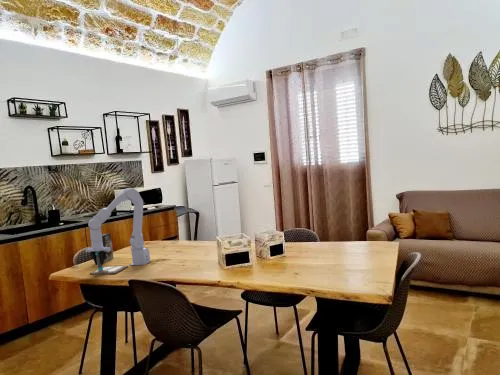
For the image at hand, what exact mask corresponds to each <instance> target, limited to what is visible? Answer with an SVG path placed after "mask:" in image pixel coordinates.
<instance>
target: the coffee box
mask: <svg viewBox="0 0 500 375" xmlns="http://www.w3.org/2000/svg"><path fill="white" fill-rule="evenodd" d="M101 234H102V241H103V247H110V249H111V251H109V252H107V253H106V256H105V261H104V263H105V262H107V261H110V260H112V259H114V251H113V242H112V235H111V233H110V232H109V233H108V232H107V233H101Z"/></svg>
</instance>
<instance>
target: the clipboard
mask: <svg viewBox="0 0 500 375" xmlns="http://www.w3.org/2000/svg"><path fill="white" fill-rule="evenodd" d="M128 268H129V265H110V266H107V265H106V266H105V265H103V270H99V271H98V268H97V269H95V270H93V271H92V272H90V273H89V275H94V274H95V275H116V274H118V273H120V272H122V271H124V270H126V269H128Z"/></svg>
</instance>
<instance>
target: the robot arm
mask: <svg viewBox="0 0 500 375" xmlns="http://www.w3.org/2000/svg"><path fill="white" fill-rule="evenodd" d="M125 201H130V202H131V203H132V204H133V218H132V219H133V222H132V223H133V224H132V232H131V237H130V238H129V245H130V246H131V247H130V251H131V252H130V253H131V258H132V263H130V264H129V266H145V265H147V264H148V263H150V262H152V260H151V257H150V254H151V253H150V250H149V248H147V247H145V241H144V235H143V216H144V199H143V198H142V196H141V195H140V192H139V191H138V190H137V189H135V188H133V187H125V189H124V190H123V191H120V193H119V194H117V196H116V197H115V198H114V199H113V200H112V201H111V202H110V204H109V205H108V206H107V207H103V208H99V210H98V213H96V215H93V216H92V218H91V219H90V220H89V221H88V224H87V225H88V228H89V234H90V235H89V236H90V243H91V247H88V248H85V249H84V251H85V253H89V256H90V257H91V258H92V260H93V261H94V262H93V263H94V264H95V266H97V260H96V254H95V252H99V253H97V254H98V256H99V259H100V264H101V265H103V266H104V264H105V262H104V261H105V256H106V253H107V252H109V251H111V249H110V247H103V241H102V234H103V233H102V229H101V227H102V224H103V223H105V222H106V221H107V219H109V218H110V216H111V215H112V212H113V210H114V209H116V208H117V207H118V206H119V205H120V204H121V203H122V202H125Z"/></svg>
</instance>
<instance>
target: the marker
mask: <svg viewBox="0 0 500 375" xmlns="http://www.w3.org/2000/svg"><path fill="white" fill-rule="evenodd" d="M97 253H99V252H95V254H96V260H97V265H96V266H97V269H98V271H99V270H103V267H104V264H103V265H101V264H100V259H99V256H98V254H97Z"/></svg>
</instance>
